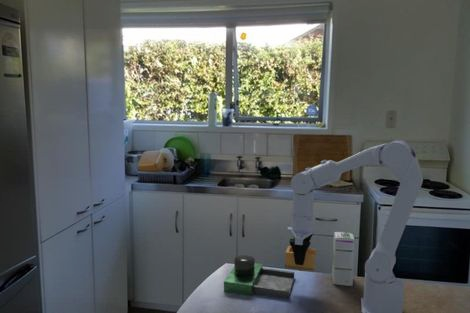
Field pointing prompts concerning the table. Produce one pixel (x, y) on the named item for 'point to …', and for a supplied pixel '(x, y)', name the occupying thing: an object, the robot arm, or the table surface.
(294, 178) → the robot arm
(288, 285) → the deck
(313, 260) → the tan arch block
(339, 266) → the syrup box
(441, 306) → the table surface
